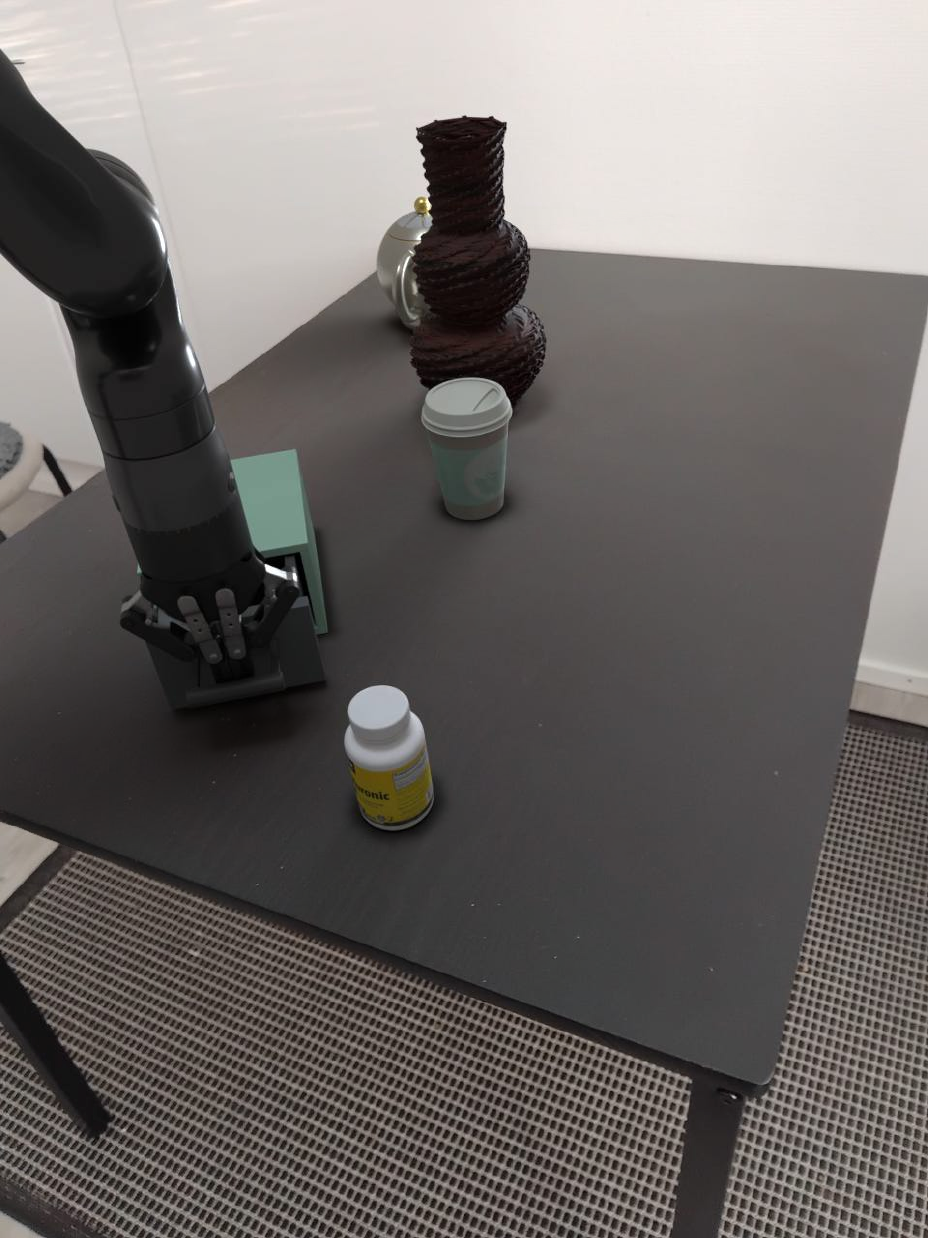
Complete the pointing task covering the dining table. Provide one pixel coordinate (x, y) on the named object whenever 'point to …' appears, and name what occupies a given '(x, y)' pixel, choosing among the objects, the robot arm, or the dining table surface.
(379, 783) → the supplement bottle
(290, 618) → the grey pull-out drawer
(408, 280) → the teapot
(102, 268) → the robot arm
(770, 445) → the dining table surface
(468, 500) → the coffee cup
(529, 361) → the vase
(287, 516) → the green drawer cabinet
